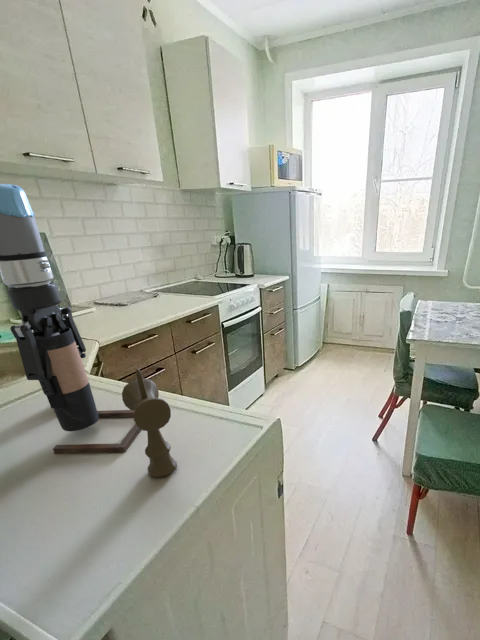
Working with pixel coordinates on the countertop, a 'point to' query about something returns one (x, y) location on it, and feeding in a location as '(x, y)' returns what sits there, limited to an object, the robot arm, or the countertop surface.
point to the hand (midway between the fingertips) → (71, 396)
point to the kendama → (150, 422)
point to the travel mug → (70, 381)
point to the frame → (103, 447)
